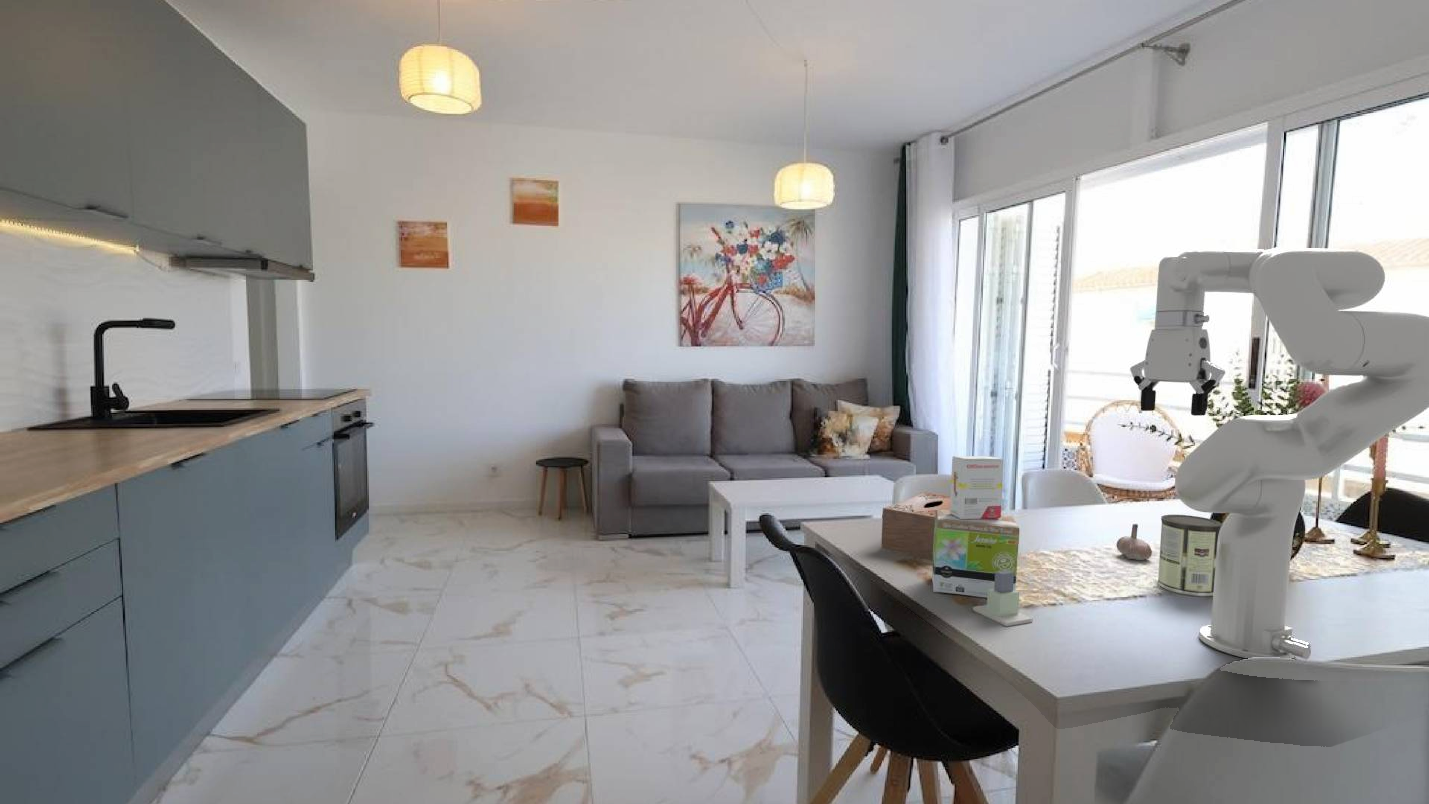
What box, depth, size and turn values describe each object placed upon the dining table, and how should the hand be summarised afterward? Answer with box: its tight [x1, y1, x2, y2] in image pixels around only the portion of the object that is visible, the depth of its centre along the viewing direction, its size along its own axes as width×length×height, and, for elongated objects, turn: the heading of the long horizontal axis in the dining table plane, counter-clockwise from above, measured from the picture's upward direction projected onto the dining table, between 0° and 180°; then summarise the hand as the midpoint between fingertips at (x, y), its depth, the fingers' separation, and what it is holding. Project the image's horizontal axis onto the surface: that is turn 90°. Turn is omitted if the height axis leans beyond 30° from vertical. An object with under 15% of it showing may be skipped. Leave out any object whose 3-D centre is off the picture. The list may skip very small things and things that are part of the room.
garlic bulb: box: [1116, 523, 1153, 561], centre depth 166 cm, size 8×7×8 cm
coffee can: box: [1157, 514, 1223, 597], centre depth 145 cm, size 10×10×14 cm
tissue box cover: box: [880, 492, 951, 560], centre depth 174 cm, size 26×14×10 cm, turn 142°
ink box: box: [949, 455, 1004, 519], centre depth 140 cm, size 9×5×12 cm, turn 97°
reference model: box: [972, 570, 1034, 627], centre depth 127 cm, size 8×6×8 cm
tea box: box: [931, 510, 1021, 599], centre depth 141 cm, size 15×10×15 cm, turn 75°
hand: (1172, 412), depth 135 cm, fingers open, 9 cm apart
